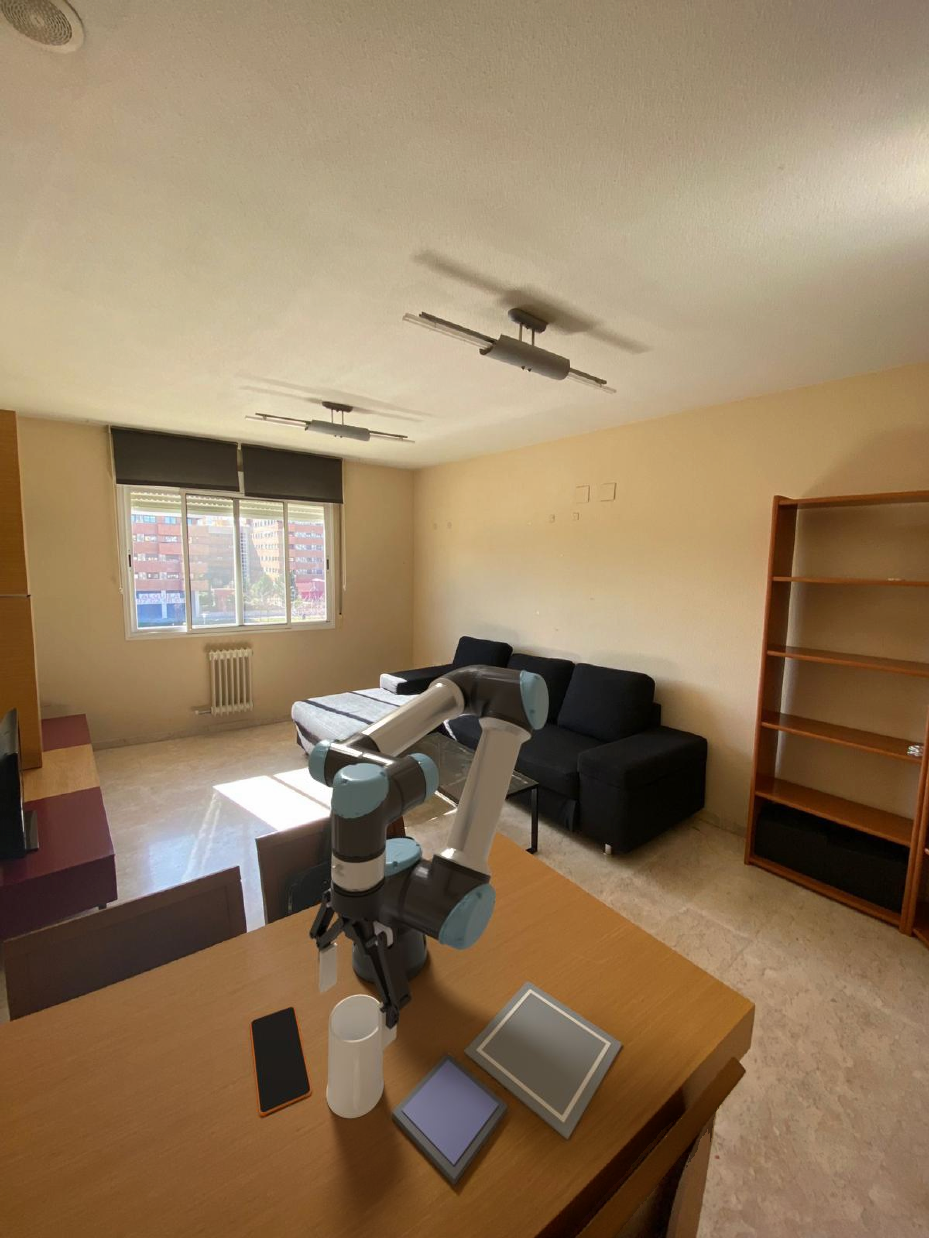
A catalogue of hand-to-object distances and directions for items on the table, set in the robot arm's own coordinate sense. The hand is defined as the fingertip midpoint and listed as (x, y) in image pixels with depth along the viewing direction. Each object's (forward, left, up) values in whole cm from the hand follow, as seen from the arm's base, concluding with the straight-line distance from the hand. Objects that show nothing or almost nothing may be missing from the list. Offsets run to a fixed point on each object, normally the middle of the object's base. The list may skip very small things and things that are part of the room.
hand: (355, 1013), depth 73 cm
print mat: (+17, +26, -14) cm, 34 cm away
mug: (0, 0, -15) cm, 15 cm away
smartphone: (-14, -4, -15) cm, 21 cm away
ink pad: (+12, +8, -14) cm, 20 cm away
